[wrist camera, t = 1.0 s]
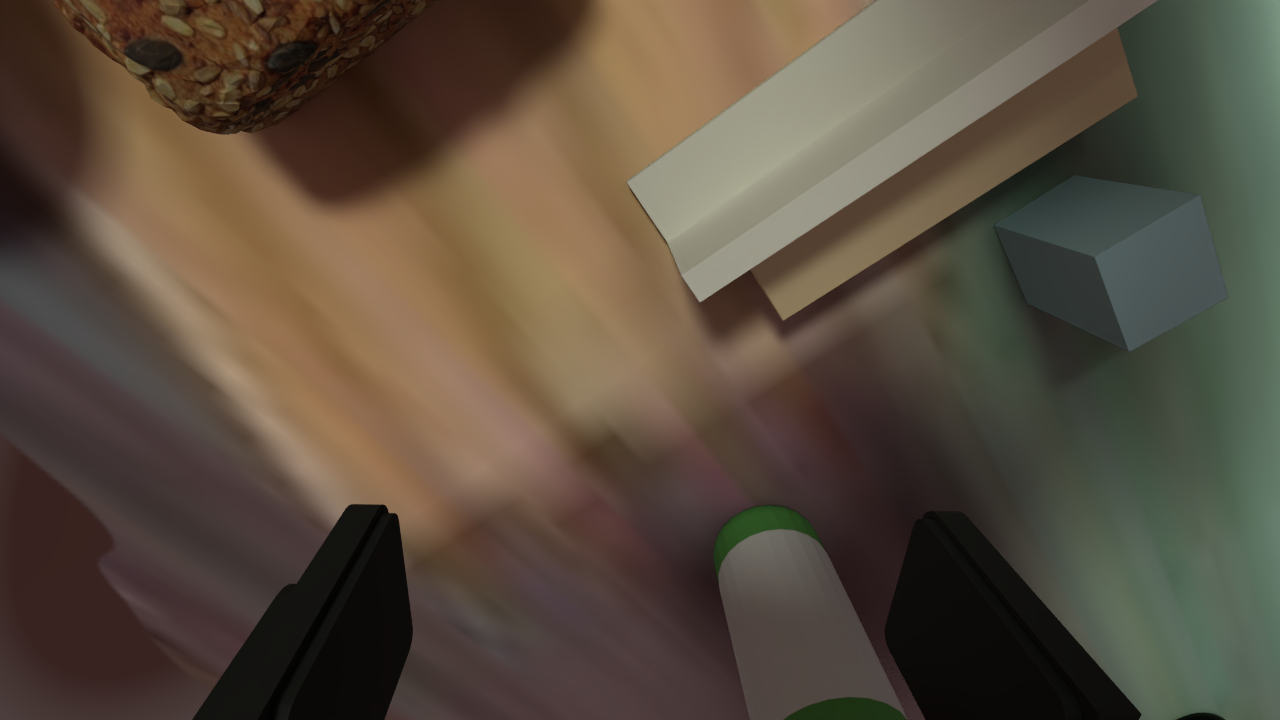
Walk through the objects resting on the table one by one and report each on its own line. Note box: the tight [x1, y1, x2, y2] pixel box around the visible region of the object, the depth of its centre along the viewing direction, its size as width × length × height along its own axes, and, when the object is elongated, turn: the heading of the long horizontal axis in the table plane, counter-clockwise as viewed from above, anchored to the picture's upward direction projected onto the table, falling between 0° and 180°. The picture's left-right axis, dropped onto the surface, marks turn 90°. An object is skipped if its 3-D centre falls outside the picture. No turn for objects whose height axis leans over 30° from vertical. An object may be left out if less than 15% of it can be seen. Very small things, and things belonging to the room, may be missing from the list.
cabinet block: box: [994, 175, 1228, 352], centre depth 32 cm, size 7×5×8 cm
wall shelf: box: [627, 0, 1158, 321], centre depth 29 cm, size 11×26×8 cm, turn 125°
